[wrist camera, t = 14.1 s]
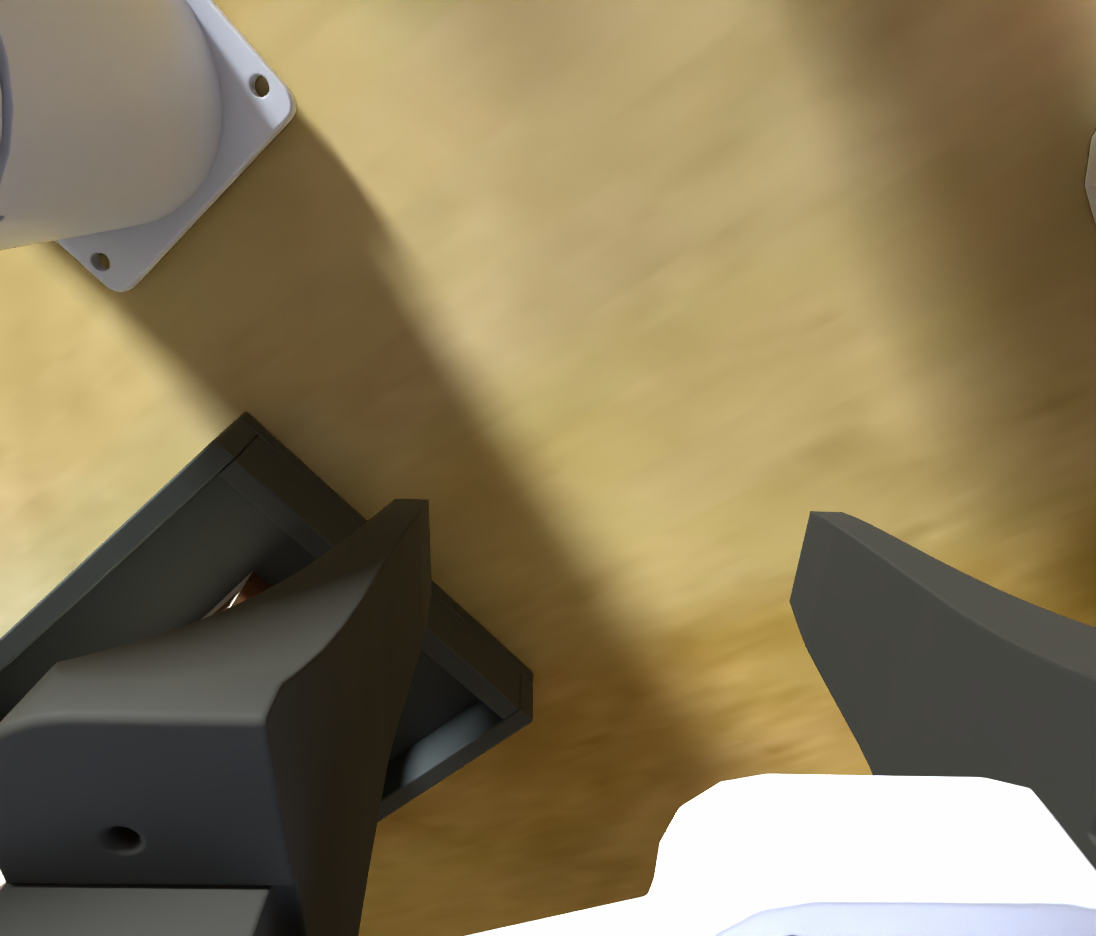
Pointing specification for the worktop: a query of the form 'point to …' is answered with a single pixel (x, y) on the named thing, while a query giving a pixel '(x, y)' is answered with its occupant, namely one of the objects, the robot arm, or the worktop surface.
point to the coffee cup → (1092, 177)
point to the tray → (274, 554)
